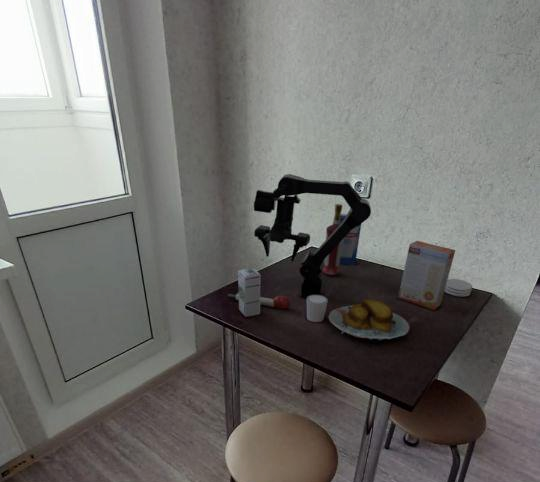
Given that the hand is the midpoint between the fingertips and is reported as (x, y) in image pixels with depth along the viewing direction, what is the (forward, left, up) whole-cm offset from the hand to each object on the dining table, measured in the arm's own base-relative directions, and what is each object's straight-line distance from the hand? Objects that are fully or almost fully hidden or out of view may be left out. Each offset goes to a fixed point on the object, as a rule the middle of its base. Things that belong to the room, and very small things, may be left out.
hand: (279, 258), depth 144 cm
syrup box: (+4, +19, -13) cm, 24 cm away
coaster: (-64, -26, -13) cm, 71 cm away
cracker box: (-50, -11, -13) cm, 53 cm away
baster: (+4, +12, -13) cm, 18 cm away
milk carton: (-18, -42, -13) cm, 47 cm away
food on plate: (-34, +15, -13) cm, 40 cm away
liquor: (-15, -25, -13) cm, 32 cm away
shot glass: (-17, +15, -13) cm, 26 cm away
